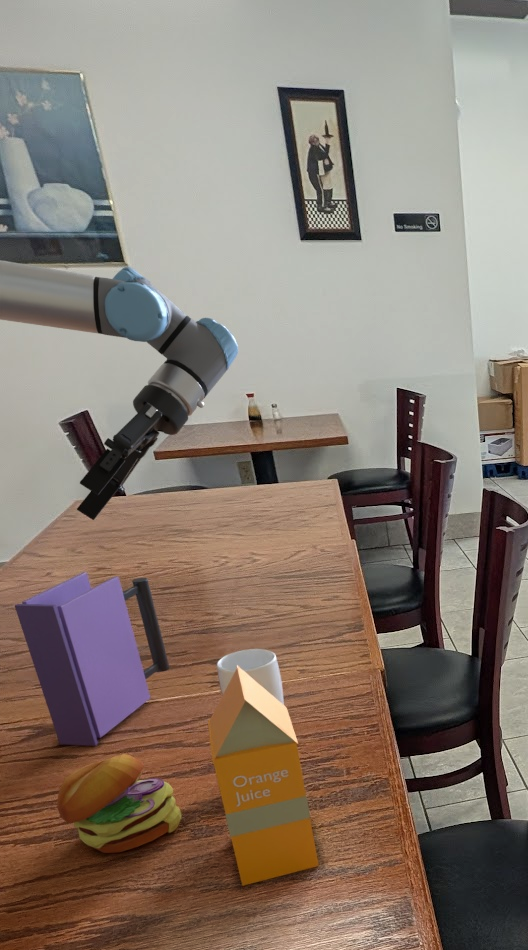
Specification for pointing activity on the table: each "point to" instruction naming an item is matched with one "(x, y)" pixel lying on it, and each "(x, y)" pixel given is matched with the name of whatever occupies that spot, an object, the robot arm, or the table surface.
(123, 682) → the folder cover
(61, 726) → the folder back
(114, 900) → the table surface
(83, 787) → the cheeseburger
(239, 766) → the orange juice
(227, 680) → the drinking glass
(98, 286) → the robot arm
